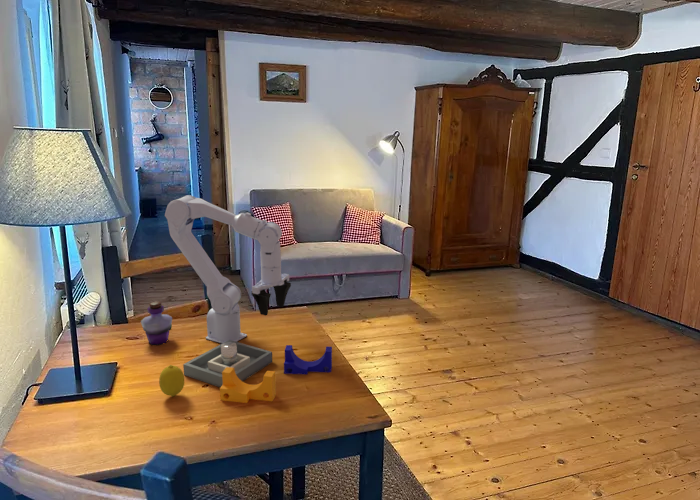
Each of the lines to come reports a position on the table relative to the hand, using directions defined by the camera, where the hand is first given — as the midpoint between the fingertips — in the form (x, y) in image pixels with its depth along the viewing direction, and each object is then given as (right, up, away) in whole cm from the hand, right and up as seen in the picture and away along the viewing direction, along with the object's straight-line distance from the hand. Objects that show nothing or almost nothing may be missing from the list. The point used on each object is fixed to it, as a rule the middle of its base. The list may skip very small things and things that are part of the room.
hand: (272, 310), depth 146 cm
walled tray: (-9, -13, -15) cm, 22 cm away
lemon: (-19, -17, -28) cm, 38 cm away
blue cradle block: (+12, -14, -15) cm, 24 cm away
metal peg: (-9, -13, -15) cm, 22 cm away
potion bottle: (-33, -9, 0) cm, 35 cm away
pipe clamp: (-1, -18, -28) cm, 33 cm away
